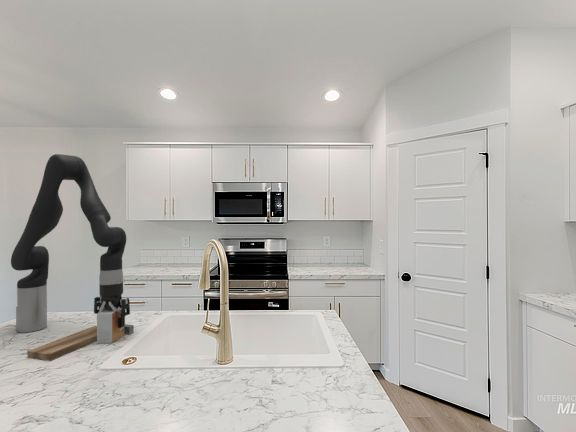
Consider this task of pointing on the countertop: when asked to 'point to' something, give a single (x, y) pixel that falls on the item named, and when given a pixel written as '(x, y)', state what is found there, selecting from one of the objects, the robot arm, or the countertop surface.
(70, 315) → the countertop surface
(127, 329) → the block
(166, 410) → the countertop surface
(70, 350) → the plank
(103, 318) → the small box
